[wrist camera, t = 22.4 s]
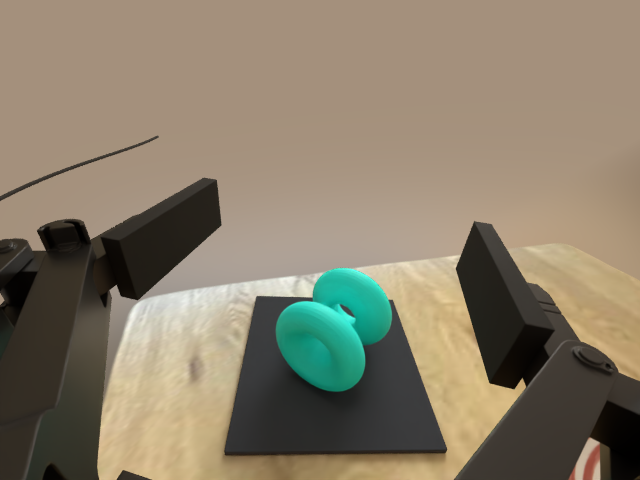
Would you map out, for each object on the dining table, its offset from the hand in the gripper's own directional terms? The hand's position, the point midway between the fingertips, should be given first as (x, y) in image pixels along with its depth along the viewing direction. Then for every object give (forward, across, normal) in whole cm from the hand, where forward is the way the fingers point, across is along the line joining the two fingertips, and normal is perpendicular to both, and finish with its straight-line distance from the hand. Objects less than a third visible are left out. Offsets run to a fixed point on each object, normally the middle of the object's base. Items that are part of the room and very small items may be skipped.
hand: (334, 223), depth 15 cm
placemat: (+10, 0, -23) cm, 25 cm away
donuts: (+10, 0, -23) cm, 25 cm away
